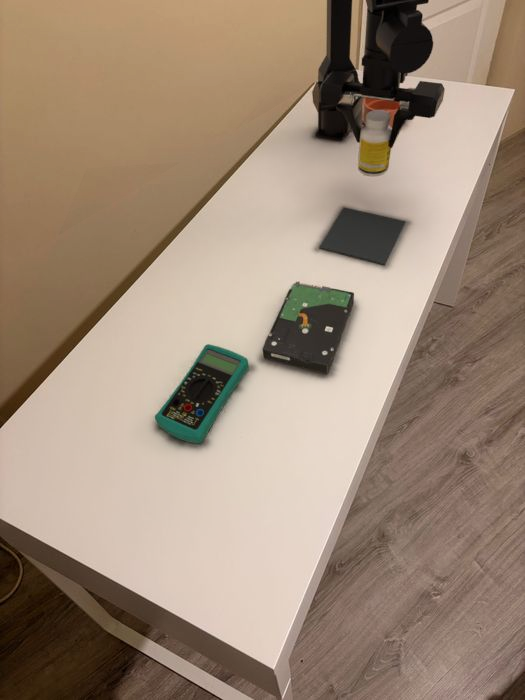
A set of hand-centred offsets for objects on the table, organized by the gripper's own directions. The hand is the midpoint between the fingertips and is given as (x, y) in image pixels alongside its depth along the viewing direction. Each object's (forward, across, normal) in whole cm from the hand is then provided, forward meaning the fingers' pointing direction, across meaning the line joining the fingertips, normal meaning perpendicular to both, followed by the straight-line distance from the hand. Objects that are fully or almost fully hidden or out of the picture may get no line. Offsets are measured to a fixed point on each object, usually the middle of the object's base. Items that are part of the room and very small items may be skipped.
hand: (375, 144), depth 85 cm
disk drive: (+13, -2, +33) cm, 35 cm away
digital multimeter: (+13, +8, +50) cm, 52 cm away
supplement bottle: (+5, 0, 0) cm, 5 cm away
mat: (+12, -2, +9) cm, 15 cm away
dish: (+12, +7, -30) cm, 33 cm away
